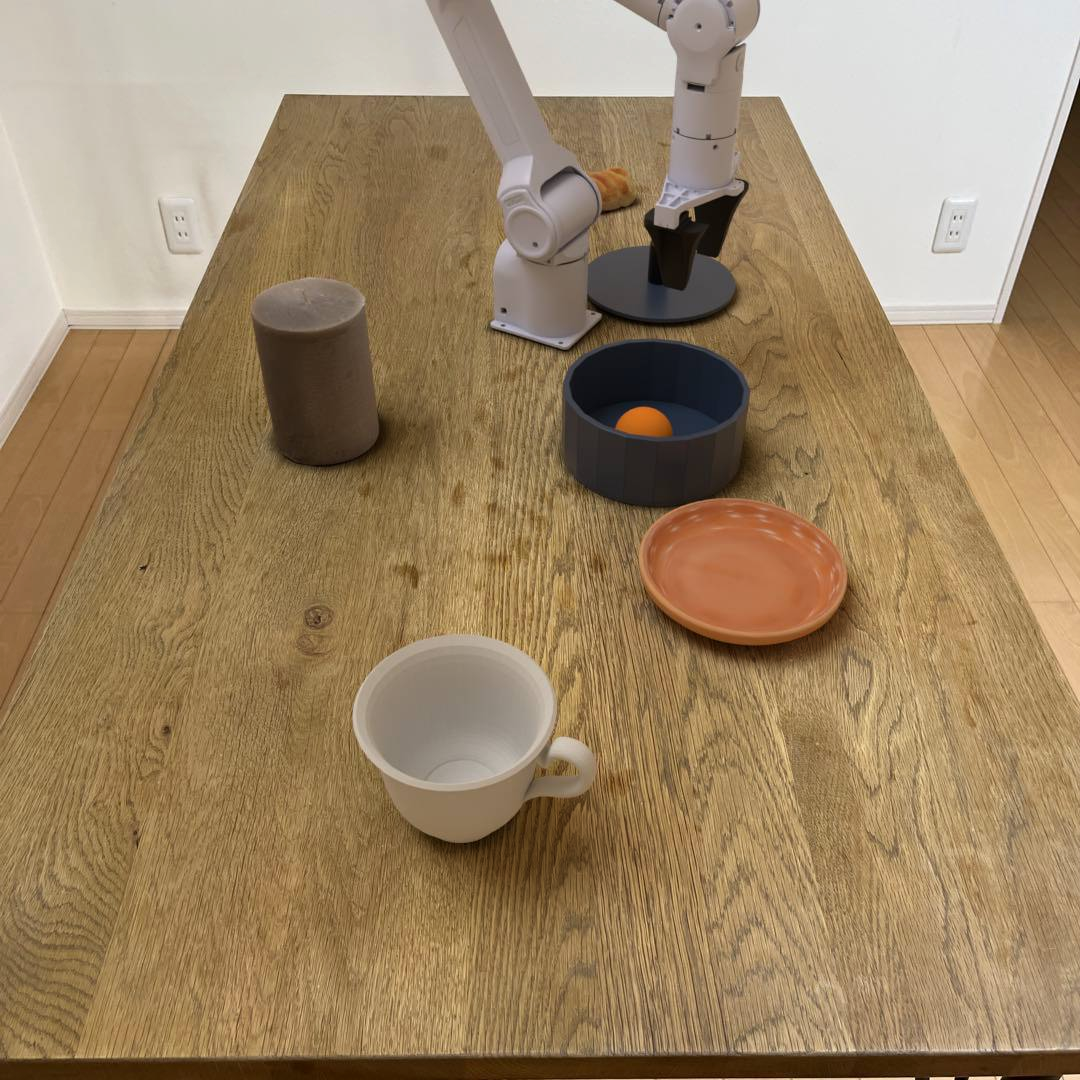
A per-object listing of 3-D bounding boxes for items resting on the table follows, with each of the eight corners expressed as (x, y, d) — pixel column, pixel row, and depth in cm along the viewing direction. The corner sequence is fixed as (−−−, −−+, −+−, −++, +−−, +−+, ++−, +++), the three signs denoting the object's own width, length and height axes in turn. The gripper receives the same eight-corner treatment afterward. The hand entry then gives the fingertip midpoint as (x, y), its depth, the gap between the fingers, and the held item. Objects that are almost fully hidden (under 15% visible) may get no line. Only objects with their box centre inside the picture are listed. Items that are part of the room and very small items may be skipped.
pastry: (585, 222, 137) (586, 192, 135) (551, 204, 141) (551, 175, 139) (641, 202, 142) (642, 173, 139) (606, 186, 146) (607, 157, 143)
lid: (553, 302, 122) (553, 255, 118) (624, 241, 133) (626, 197, 130) (695, 343, 116) (701, 295, 112) (758, 276, 127) (764, 230, 123)
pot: (529, 470, 99) (528, 404, 94) (613, 384, 110) (616, 322, 105) (695, 529, 93) (703, 462, 88) (767, 432, 103) (777, 368, 99)
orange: (616, 457, 101) (597, 452, 97) (635, 403, 101) (617, 395, 96) (668, 475, 99) (651, 471, 95) (687, 420, 99) (672, 414, 94)
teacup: (553, 934, 65) (556, 835, 58) (334, 848, 69) (313, 747, 63) (622, 779, 73) (631, 678, 67) (422, 712, 78) (412, 610, 71)
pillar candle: (280, 474, 99) (251, 325, 89) (270, 414, 106) (242, 270, 96) (388, 456, 100) (372, 309, 91) (371, 399, 108) (354, 256, 98)
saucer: (838, 535, 92) (844, 507, 90) (844, 675, 80) (852, 647, 78) (646, 514, 94) (649, 486, 92) (625, 648, 82) (627, 620, 81)
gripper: (713, 165, 91) (698, 313, 99) (778, 110, 100) (759, 250, 109) (636, 148, 93) (628, 294, 102) (706, 96, 103) (693, 234, 112)
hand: (691, 270), depth 106 cm, fingers open, 7 cm apart
